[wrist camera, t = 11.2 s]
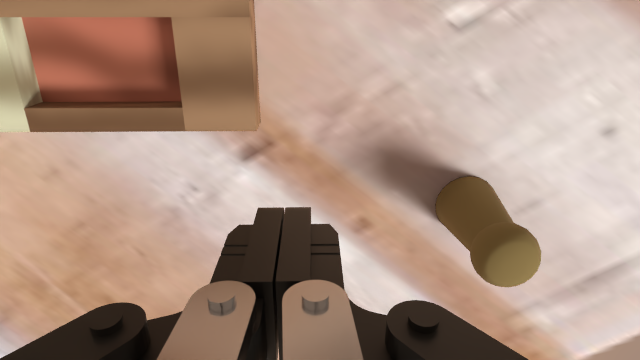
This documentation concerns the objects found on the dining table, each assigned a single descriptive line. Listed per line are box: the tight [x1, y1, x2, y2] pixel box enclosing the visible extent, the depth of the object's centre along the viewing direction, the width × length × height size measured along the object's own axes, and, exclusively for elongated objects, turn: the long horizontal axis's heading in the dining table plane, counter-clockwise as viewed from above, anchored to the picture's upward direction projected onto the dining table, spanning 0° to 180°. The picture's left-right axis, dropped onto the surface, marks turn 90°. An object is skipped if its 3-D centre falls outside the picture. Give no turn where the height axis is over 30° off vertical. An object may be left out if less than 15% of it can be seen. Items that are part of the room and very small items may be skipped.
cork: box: [435, 176, 541, 287], centre depth 37 cm, size 6×6×11 cm
